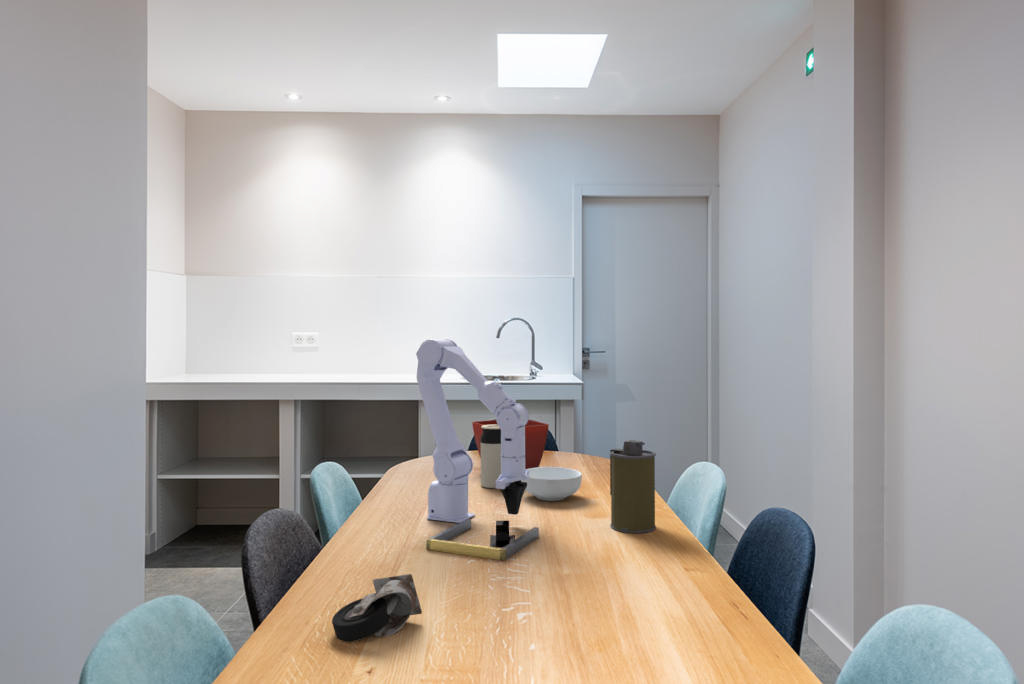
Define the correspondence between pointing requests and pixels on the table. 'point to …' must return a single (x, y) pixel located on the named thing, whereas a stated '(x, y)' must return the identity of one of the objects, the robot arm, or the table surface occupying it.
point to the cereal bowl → (553, 482)
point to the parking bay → (442, 544)
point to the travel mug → (490, 455)
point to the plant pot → (533, 440)
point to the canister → (632, 488)
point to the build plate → (501, 535)
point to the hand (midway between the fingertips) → (513, 513)
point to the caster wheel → (378, 610)
